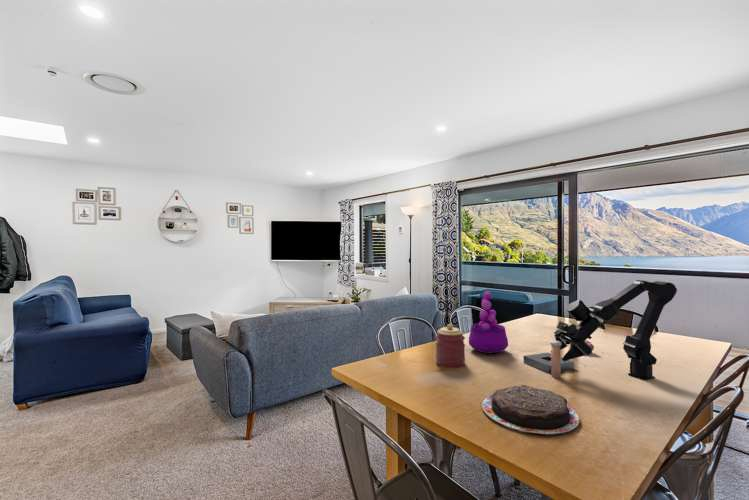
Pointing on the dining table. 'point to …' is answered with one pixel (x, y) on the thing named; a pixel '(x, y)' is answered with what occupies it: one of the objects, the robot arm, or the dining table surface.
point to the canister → (450, 347)
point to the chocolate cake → (531, 410)
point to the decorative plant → (488, 330)
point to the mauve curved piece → (589, 344)
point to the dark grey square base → (546, 362)
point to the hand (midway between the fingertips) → (556, 356)
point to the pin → (556, 358)
